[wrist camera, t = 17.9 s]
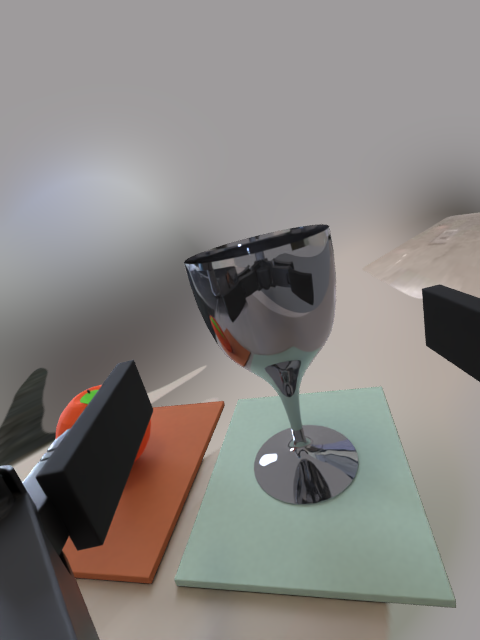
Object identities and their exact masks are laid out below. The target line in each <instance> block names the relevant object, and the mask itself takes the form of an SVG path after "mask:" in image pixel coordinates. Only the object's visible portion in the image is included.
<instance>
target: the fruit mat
mask: <svg viewBox="0 0 480 640" xmlns="http://www.w3.org/2000/svg"><path fill="white" fill-rule="evenodd" d="M223 408H224V401H219V402H208V403H197V404H187V405H175V406H165V407H154V408H153V413H152V416H151V418H150V420H151V430H150V438H149V441H148V443H147V445H146V448H145V450H144V452H143V453H142V454H141V456H140V457H139V458H138V459H137V460H136V461H135V462H134V464H133V466H132V469H131V472H130V474H129V477H128V480H127V482H126V485H125V488H124V490H123V493H122V496H121V498H120V501H119V504H118V506H117V509H116V512H115V514H114V517H113V520H112V522H111V525H110V528H109V530H108V533H107V536H106V538H105V541H104V544H103V545H101V546H97V547H92V548H88V549H83V550H79V551H77V549H76V547H75V546H74V544H73V542H72V540H71V539H70V537H68V539H67V541H66V543H65V545H64V547H63V549H62V550H63V552H64V554H65V555H66V557H67V559H68V561H69V564H70V566H71V569H72V571H73V574H74V577H75V578H88V579H100V580H113V581H126V582H138V583H152V581H153V579H154V576H155V574H156V571H157V569H158V567H159V564H160V562H161V559H162V557H163V554H164V552H165V550H166V547H167V545H168V542H169V540H170V537H171V535H172V532H173V530H174V528H175V525H176V523H177V520H178V518H179V515H180V513H181V511H182V508H183V506H184V503H185V501H186V498H187V496H188V493H189V491H190V489H191V486H192V484H193V481H194V479H195V476H196V474H197V472H198V469H199V467H200V464H201V462H202V459H203V457H204V455H205V452H206V450H207V447H208V445H209V442H210V440H211V437H212V435H213V433H214V430H215V428H216V425H217V423H218V420H219V418H220V415H221V413H222V411H223Z"/></svg>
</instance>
